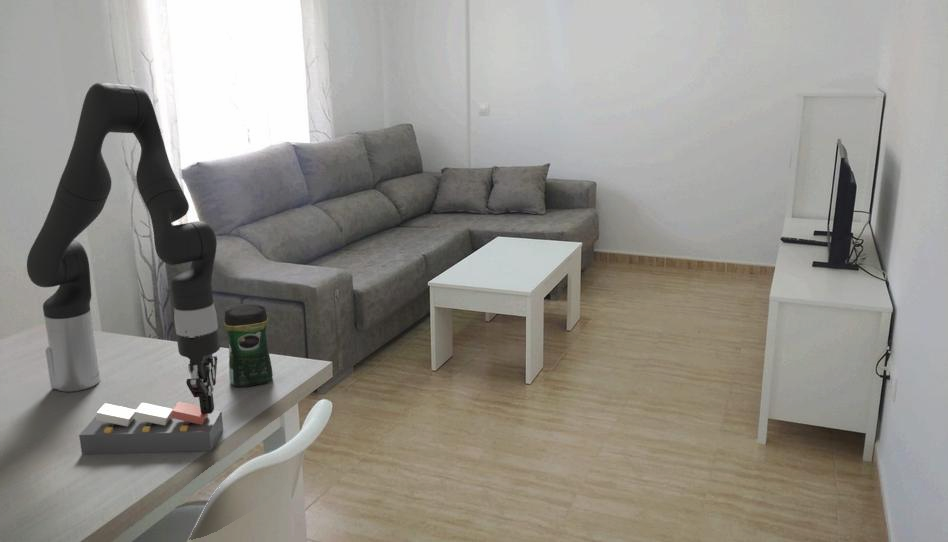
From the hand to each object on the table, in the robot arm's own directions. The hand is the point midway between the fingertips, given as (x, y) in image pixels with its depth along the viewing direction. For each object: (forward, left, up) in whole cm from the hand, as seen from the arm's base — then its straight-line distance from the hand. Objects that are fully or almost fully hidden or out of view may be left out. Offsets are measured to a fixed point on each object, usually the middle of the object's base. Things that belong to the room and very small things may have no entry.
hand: (207, 412), depth 151 cm
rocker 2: (-11, 0, -1) cm, 11 cm away
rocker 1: (-18, 0, -1) cm, 18 cm away
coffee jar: (+2, +29, -6) cm, 29 cm away
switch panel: (-11, 0, -6) cm, 12 cm away
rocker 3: (-4, 0, -1) cm, 4 cm away
